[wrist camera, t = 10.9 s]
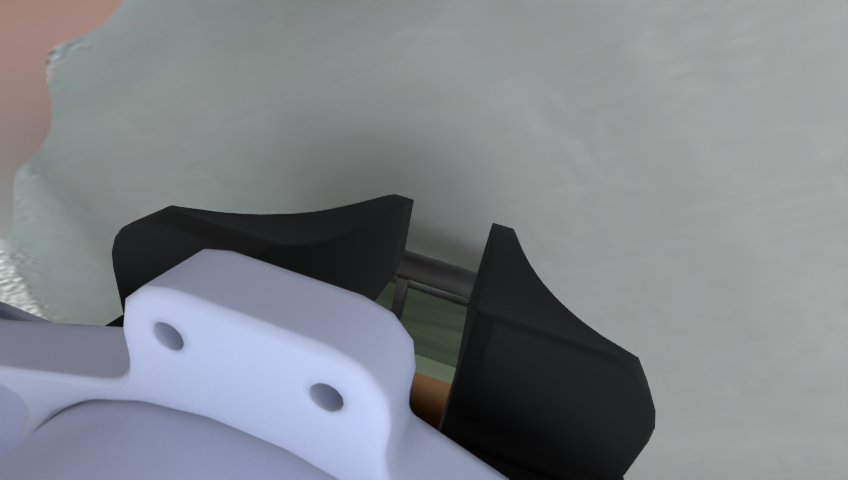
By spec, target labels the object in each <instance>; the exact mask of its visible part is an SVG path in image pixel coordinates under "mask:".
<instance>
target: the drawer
mask: <svg viewBox="0 0 848 480" xmlns="http://www.w3.org/2000/svg"><path fill="white" fill-rule="evenodd" d="M394 275H396V276H397V280H396V284H395V283H392V282H389V283H388V284H387V286H386V287H385V288H384V290H383V291H382V292H381V294H380V295H379V297H378V298H377V299H376V301H375V303H377V304H379V305H380V306H382V307H384V308H385V309H387V310H389V311H391V312H392V313H394V314H395V316H396V317H397V319H398V320H399V321H400V323H401V324H402V325H403V327H404V328H405V330H406V331H407V332H408V334H409V335H410V337H411V338H412V339H413V343H414V353H415V363H416V369H415V373H414V377H413V381H412V385H411V389H410V396H409V406H410V409H411V411H412V412H413V414H414V415H415V416H417V417H418V418H420V419H421V420H423V421H424V422H426V423H427V424H429V425H430V426H432V427H433V428H435V429H436V430H438V428H439V425H440V421H441V418H442V415H443V411H444V408H445V405H446V401H447V398H448V394H449V391H450V388H451V384H452V381H453V378H454V374H455V370H456V366H457V361H458V356H459V351H460V345H461V340H462V334H463V329H464V323H465V318H466V313H467V307H465V306H462V305H459V304H456V303H453V302H450V301H447V300H444V299H441V298H438V297H435V296H432V295H429V294H426V293H423V292H420V291H417V290H414V289H411V288H408V286H409V281H410V280H412V281H415V282H418V283H421V284H424V285H427V286H430V287H433V288H436V289H439V290H442V291H446V292H449V293H452V294H455V295H458V296H461V297H464V298H467V299H470V296H471V293H472V290H473V286H474V283H475V280H476V277H477V272H474V271H470V270H467V269H464V268H461V267H458V266H455V265H451V264H448V263H445V262H442V261H439V260H435V259H432V258H429V257H426V256H423V255H420V254H416V253H413V252H410V251H407V250H404V254H403V258H402V260H401V261H400V263H399V265H398V267H397V269H396V271H395V273H394Z"/></svg>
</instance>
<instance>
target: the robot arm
mask: <svg viewBox="0 0 848 480" xmlns="http://www.w3.org/2000/svg"><path fill="white" fill-rule="evenodd" d="M413 202H414V200H413V199H409V198H406V197H402V196H399V195H396V194H394V195H387V196H383V197H379V198H375V199H371V200H367V201H364V202H360V203H356V204H352V205H347V206H343V207H338V208H333V209H328V210H322V211H316V212H307V213H297V214H267V215H258V214H237V213H224V212H214V211H207V210H200V209H192V208H185V207H179V206H173V205H172V206H168V207H166V208H164V209H162V210H159V211H157V212H155V213H153V214H150V215H148V216H146V217H143V218H141V219H139V220H136V221H134V222H132V223H130V224H128V225H127V226H125V227H123V228H122V229H121V230H120V231H119V233H118V234H117V236H116V237H115V240H114V245H113V249H112V259H113V268H114V272H115V277H116V281H117V286H118V290H119V295H120V299H121V304H122V308H123V313H124V314H123V315H122V316H120V317H119V318H117V319H115V320H114V321H112V322H111V323H109V324H108V325H106V326H95V325H79V324H63V323H53V322H50V321H48V320H45V319H43V318H40V317H38V316H35V315H33V314H30V313H28V312H25V311H23V310H20V309H18V308H16V307H13V306H11V305H8V304H6V303H3V302H1V301H0V480H624V478H623V476H624V474H625V473H626V472H627V470H628V469H629V468H630V466H631V465H632V463H633V462H634V461H635V459H636V458H637V457H638V455H639V454H640V452H641V451H642V450H643V448H644V447H645V445H646V444H647V443H648V441H649V439H650V437H651V435H652V433H653V430H654V428H655V408H654V404H653V400H652V397H651V393H650V389H649V386H648V382H647V379H646V376H645V374H644V371H643V368H642V366H641V363H640V361H639V358H638V357H636V356H635V355H633V354H631V353H630V352H628V351H626V350H625V349H623V348H621V347H620V346H618V345H616V344H615V343H613V342H611V341H610V340H608V339H606V338H605V337H603V336H602V335H600V334H599V333H597V332H596V331H595V330H593V329H592V328H591V327H589V326H588V325H586V324H585V323H584V322H582V321H581V320H580V319H579V318H577V317H576V316H575V315H574V314H573V313H572V312H570V311H569V310H568V309H567V308H566V307H565V306H564V305H563V304H562V303H561V302H560V301H559V300H558V299H557V298H556V297H555V296H554V295H553V294H552V293H551V292H550V291H549V289H548V288H547V287H546V286H545V285H544V284H543V282H542V281H541V280H540V278H539V277H538V276H537V274H536V273H535V271H534V270H533V268H532V267H531V265H530V263H529V262H528V260H527V258H526V256H525V254H524V252H523V250H522V248H521V245H520V243H519V241H518V238H517V236H516V233H515V231H514V229H512V228H508V227H505V226H502V225H498V224H495V223H493V224H492V227H491V230H490V233H489V237H488V240H487V243H486V247H485V250H484V253H483V257H482V260H481V263H480V267H479V270H478V273H477V277H476V280H475V283H474V286H473V290H472V293H471V296H470V300H469V303H468V307H467V313H466V318H465V323H464V329H463V334H462V340H461V345H460V351H459V356H458V361H457V366H456V370H455V374H454V378H453V381H452V384H451V388H450V391H449V394H448V398H447V401H446V405H445V408H444V411H443V415H442V418H441V421H440V425H439V428H438V430H436V429H435V428H433V427H432V426H430V425H429V424H427V423H426V422H424V421H423V420H421V419H420V418H418V417H417V416H415V415H414V414H413V412H412V411H411V409H410V406H409V396H410V389H411V385H412V381H413V377H414V373H415V369H416V363H415V353H414V343H413V339H412V338H411V337H410V335H409V334H408V332H407V331H406V330H405V328H404V327H403V325H402V324H401V323H400V321H399V320H398V319H397V317H396V316H395V314H394V313H392V312H391V311H389V310H387V309H385V308H384V307H382V306H380V305H379V304H377V303H375V301H376V299H377V298H378V297H379V295H380V294H381V292H382V291H383V290H384V288H385V287H386V286H387V284H388V283H389V281H390V280H391V278H392V277H393V275H394V273H395V271H396V269H397V267H398V265H399V263H400V261H401V260H402V258H403V254H404V249H405V244H406V238H407V233H408V228H409V223H410V217H411V212H412V207H413Z"/></svg>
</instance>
